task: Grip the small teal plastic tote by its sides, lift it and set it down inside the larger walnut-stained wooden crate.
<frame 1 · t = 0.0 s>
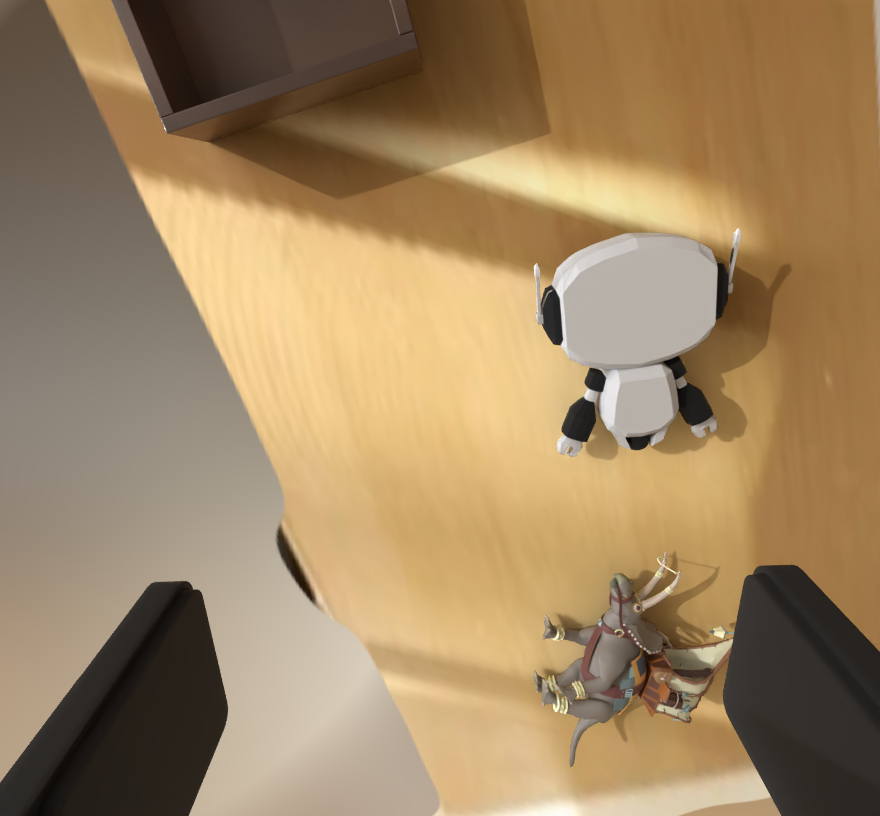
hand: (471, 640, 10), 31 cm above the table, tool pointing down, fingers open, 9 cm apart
figurine: (632, 639, 50), on the table
robot toy: (621, 340, 40), on the table
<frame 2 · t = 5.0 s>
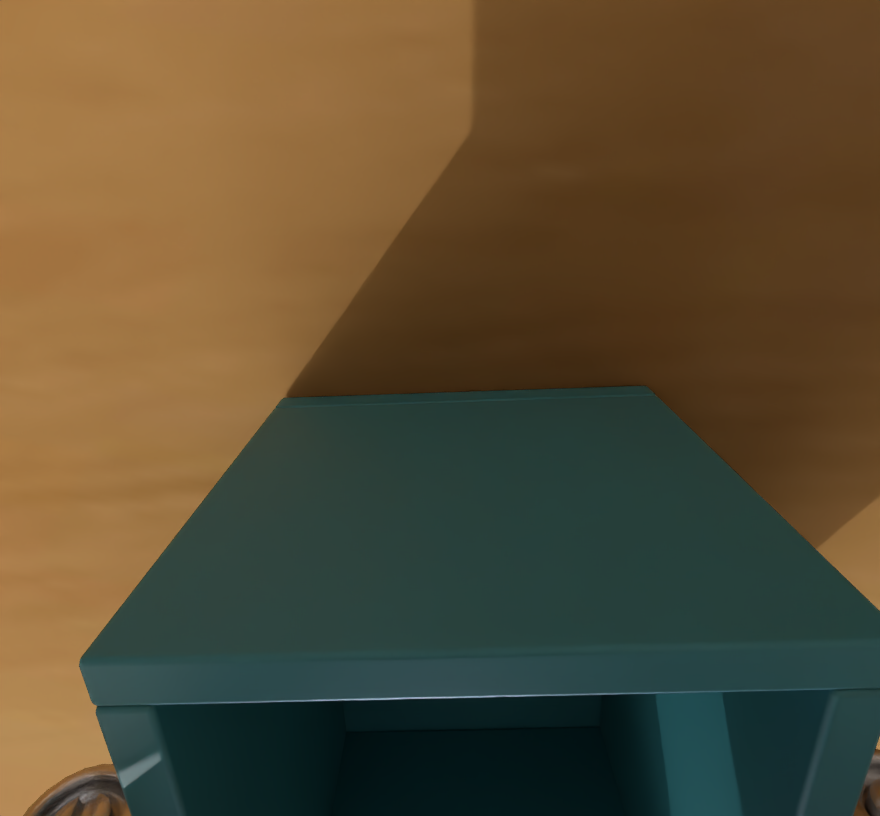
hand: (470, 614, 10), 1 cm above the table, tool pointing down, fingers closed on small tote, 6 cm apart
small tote: (468, 578, 11), on the table, touching gripper
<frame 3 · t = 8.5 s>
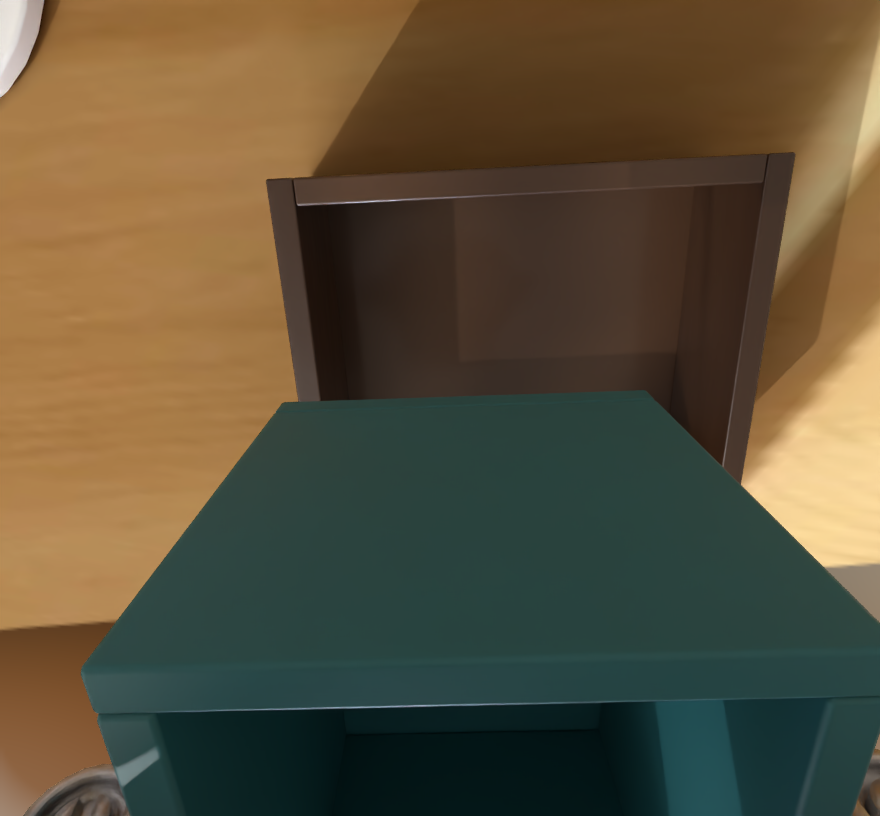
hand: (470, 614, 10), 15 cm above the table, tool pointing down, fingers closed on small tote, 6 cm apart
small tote: (467, 582, 11), point 14 cm above the table, touching gripper
crate: (508, 348, 24), on the table
when the fingers open (2 cm above the table, at t = 12.4 s): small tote stays where it is, resting on crate.
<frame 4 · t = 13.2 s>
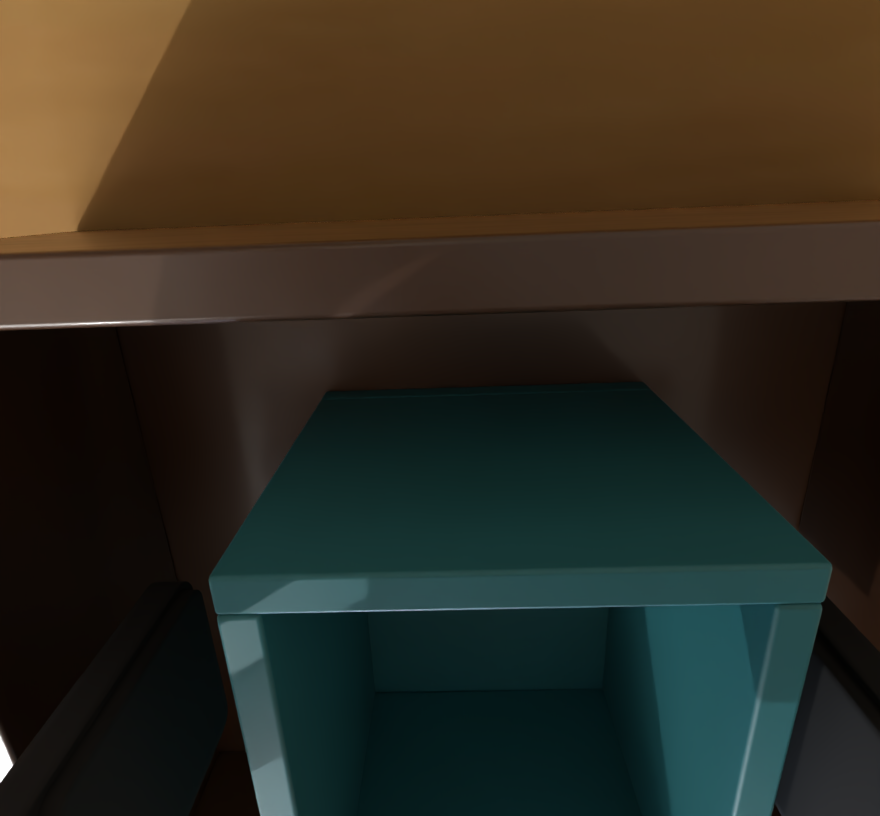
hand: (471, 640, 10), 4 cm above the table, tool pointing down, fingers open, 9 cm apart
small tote: (485, 553, 13), point 1 cm above the table, touching crate
crate: (476, 532, 13), on the table
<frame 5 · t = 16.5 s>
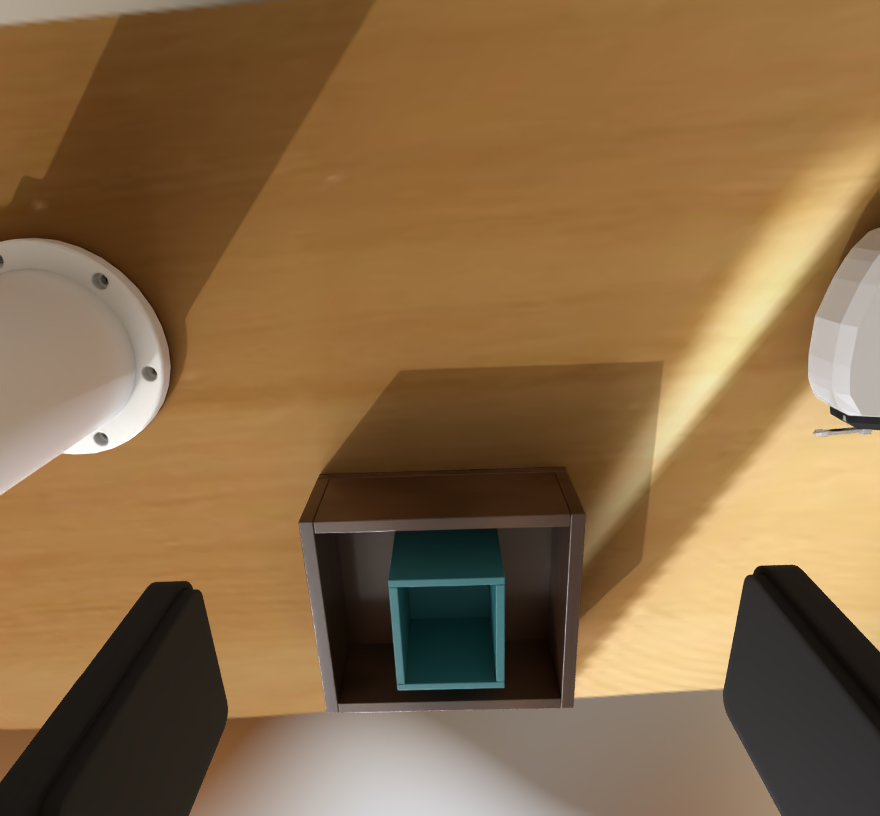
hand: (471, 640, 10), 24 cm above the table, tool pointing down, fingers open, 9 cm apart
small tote: (448, 570, 38), point 1 cm above the table, touching crate
crate: (445, 563, 38), on the table
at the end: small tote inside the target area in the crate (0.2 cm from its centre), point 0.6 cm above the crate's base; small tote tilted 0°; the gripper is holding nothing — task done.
